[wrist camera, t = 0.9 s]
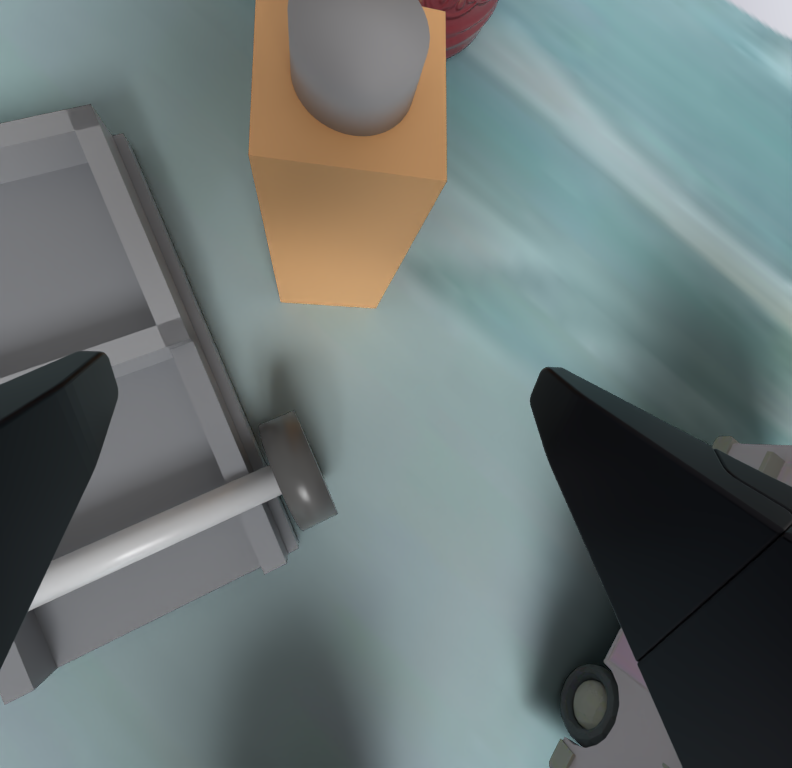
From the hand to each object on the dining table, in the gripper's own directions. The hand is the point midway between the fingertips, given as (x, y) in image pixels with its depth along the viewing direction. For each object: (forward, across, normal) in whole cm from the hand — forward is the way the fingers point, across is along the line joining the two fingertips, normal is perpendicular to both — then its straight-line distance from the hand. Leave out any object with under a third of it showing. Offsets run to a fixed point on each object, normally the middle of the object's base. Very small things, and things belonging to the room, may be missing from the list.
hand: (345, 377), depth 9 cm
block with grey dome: (+15, 0, +3) cm, 15 cm away
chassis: (+10, +11, +8) cm, 17 cm away
